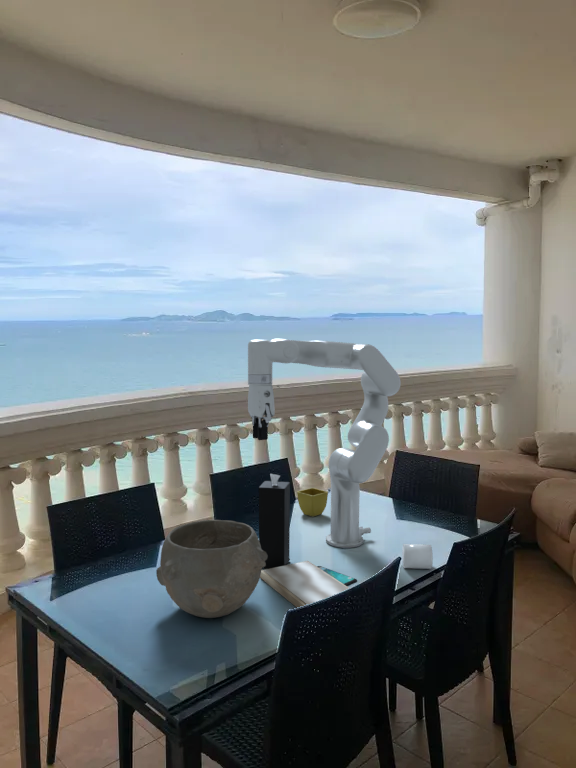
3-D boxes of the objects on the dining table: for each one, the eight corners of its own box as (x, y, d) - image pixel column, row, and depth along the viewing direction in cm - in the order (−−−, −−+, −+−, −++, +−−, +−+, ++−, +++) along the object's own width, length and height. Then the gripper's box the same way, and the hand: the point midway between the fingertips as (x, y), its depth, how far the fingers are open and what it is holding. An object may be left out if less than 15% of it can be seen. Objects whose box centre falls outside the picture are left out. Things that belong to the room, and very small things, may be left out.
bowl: (256, 640, 141) (255, 555, 139) (138, 629, 146) (137, 547, 144) (278, 590, 168) (278, 518, 166) (178, 582, 173) (177, 513, 171)
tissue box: (284, 570, 181) (284, 477, 179) (258, 568, 183) (258, 476, 180) (289, 561, 189) (290, 471, 186) (264, 559, 190) (264, 470, 188)
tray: (307, 567, 184) (307, 559, 184) (362, 604, 160) (362, 595, 159) (259, 577, 176) (259, 569, 176) (309, 617, 152) (309, 608, 152)
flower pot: (296, 514, 236) (296, 491, 235) (312, 509, 242) (312, 487, 241) (312, 519, 230) (312, 496, 229) (328, 514, 236) (328, 491, 235)
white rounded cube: (433, 552, 179) (405, 551, 180) (431, 573, 181) (404, 572, 182) (429, 540, 186) (402, 539, 187) (428, 560, 188) (402, 559, 188)
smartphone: (319, 565, 185) (358, 579, 174) (319, 567, 185) (358, 582, 174) (302, 571, 180) (342, 586, 169) (302, 574, 180) (342, 589, 169)
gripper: (283, 381, 184) (283, 442, 186) (259, 377, 198) (259, 433, 200) (260, 382, 180) (260, 444, 182) (238, 378, 194) (238, 435, 196)
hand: (260, 438), depth 191 cm, fingers closed
